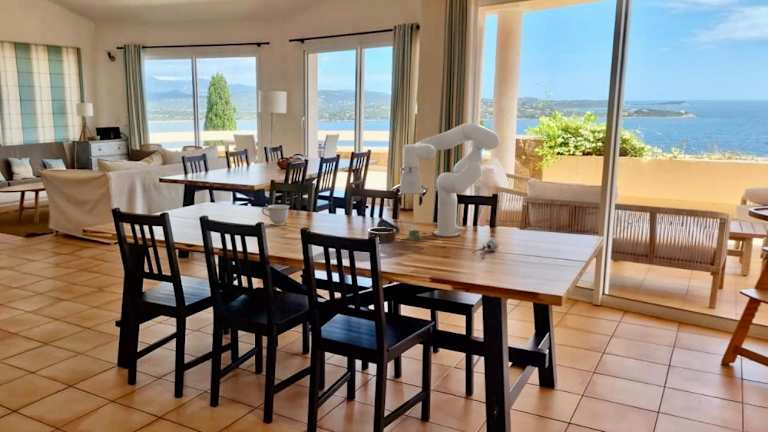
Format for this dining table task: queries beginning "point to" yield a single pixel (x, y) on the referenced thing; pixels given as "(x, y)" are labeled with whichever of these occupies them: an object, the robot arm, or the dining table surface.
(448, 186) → the robot arm
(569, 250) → the dining table surface
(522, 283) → the dining table surface
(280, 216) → the teacup
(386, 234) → the bowl
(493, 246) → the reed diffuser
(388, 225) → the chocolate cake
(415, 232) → the green cube
